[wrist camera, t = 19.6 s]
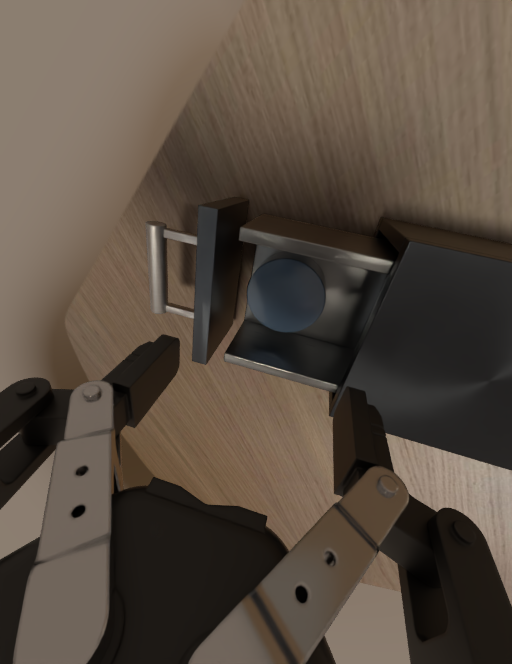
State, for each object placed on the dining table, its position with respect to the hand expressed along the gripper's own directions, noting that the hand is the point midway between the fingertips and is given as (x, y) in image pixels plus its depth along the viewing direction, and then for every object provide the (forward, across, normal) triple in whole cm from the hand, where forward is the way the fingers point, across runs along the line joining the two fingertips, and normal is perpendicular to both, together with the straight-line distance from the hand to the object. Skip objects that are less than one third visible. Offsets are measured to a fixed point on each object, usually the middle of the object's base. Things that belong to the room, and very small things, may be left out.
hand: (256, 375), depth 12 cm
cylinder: (+12, 0, 0) cm, 12 cm away
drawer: (+13, +1, 0) cm, 13 cm away
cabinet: (+14, -13, 0) cm, 19 cm away
